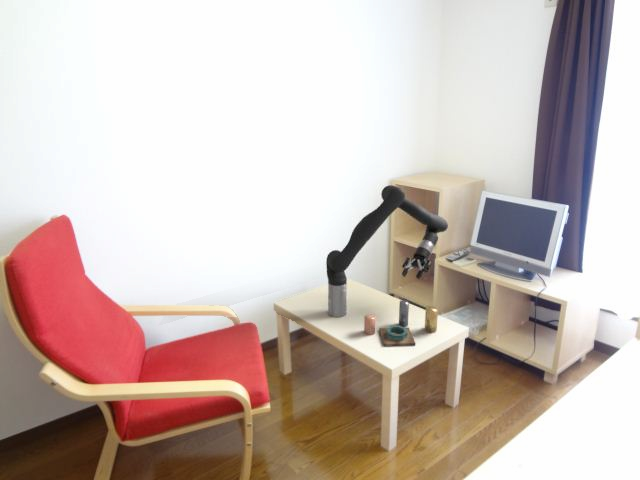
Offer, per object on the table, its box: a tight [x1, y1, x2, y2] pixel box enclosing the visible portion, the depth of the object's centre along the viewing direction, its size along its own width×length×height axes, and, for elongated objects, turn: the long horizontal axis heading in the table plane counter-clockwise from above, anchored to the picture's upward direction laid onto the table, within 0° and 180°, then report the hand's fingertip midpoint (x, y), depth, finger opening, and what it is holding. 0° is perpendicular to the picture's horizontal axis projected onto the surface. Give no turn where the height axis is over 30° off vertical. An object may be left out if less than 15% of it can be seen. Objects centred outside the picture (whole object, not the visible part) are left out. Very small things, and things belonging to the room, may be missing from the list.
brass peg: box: [423, 305, 439, 334], centre depth 211 cm, size 6×6×11 cm
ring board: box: [378, 325, 416, 347], centre depth 206 cm, size 14×14×4 cm
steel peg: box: [398, 299, 410, 327], centre depth 216 cm, size 4×4×12 cm
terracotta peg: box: [363, 314, 376, 336], centre depth 210 cm, size 5×5×8 cm
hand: (410, 276), depth 220 cm, fingers open, 8 cm apart
